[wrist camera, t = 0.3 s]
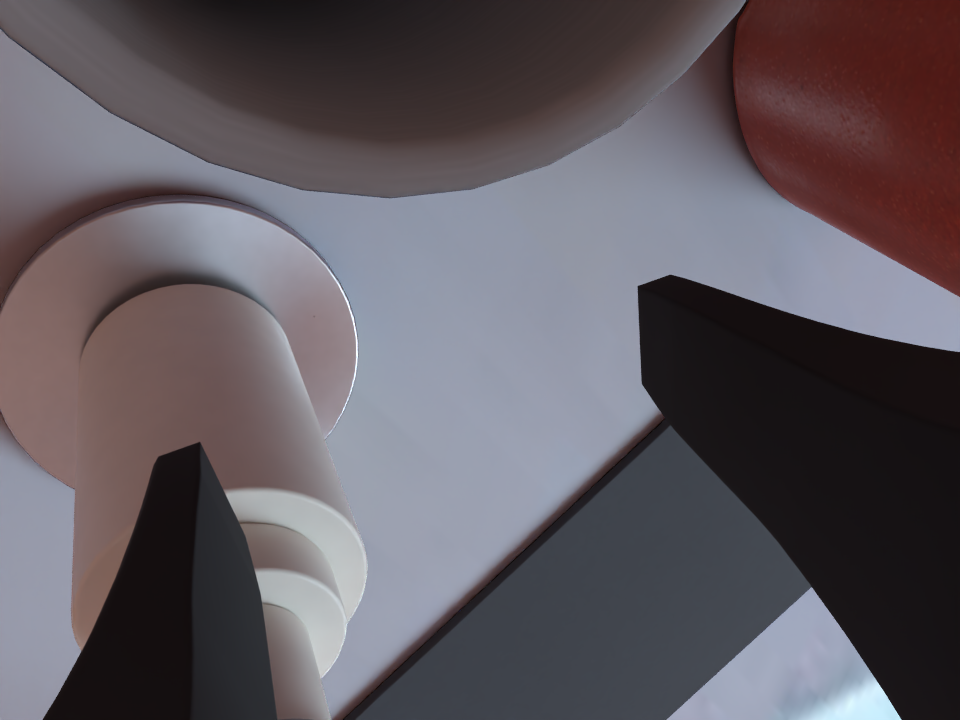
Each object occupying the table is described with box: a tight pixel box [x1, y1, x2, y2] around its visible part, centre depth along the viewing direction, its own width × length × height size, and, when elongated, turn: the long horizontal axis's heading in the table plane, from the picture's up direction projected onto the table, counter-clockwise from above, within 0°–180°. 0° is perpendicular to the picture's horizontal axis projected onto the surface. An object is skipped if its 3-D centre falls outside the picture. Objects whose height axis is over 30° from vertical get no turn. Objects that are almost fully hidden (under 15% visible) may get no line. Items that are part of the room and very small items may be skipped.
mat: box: [344, 419, 812, 720], centre depth 34 cm, size 20×14×1 cm
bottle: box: [71, 284, 367, 720], centre depth 16 cm, size 5×5×13 cm
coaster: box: [0, 194, 358, 489], centre depth 22 cm, size 9×9×1 cm
